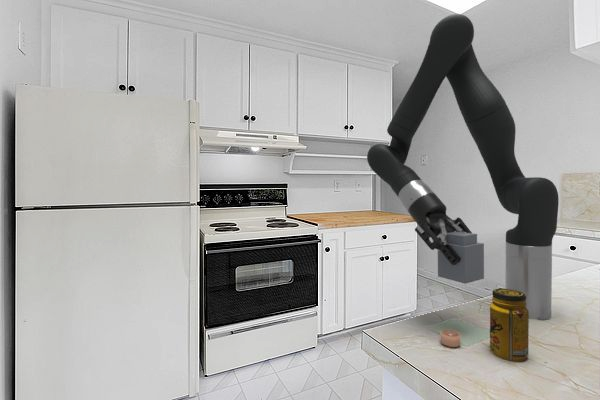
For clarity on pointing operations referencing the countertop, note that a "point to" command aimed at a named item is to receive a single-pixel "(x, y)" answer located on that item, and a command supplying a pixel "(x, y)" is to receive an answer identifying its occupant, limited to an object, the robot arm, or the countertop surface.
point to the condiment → (509, 325)
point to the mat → (462, 330)
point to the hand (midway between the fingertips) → (467, 260)
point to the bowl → (450, 337)
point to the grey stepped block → (463, 258)
